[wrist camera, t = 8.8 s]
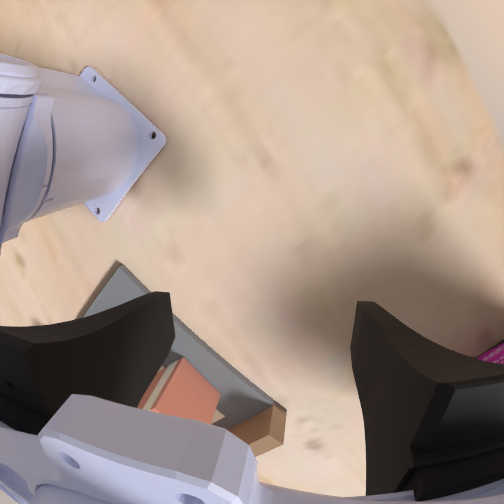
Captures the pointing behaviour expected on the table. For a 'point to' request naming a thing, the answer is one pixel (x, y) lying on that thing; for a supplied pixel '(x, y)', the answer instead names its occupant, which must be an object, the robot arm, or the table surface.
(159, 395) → the block
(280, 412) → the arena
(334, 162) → the table surface
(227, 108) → the table surface
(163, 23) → the table surface
